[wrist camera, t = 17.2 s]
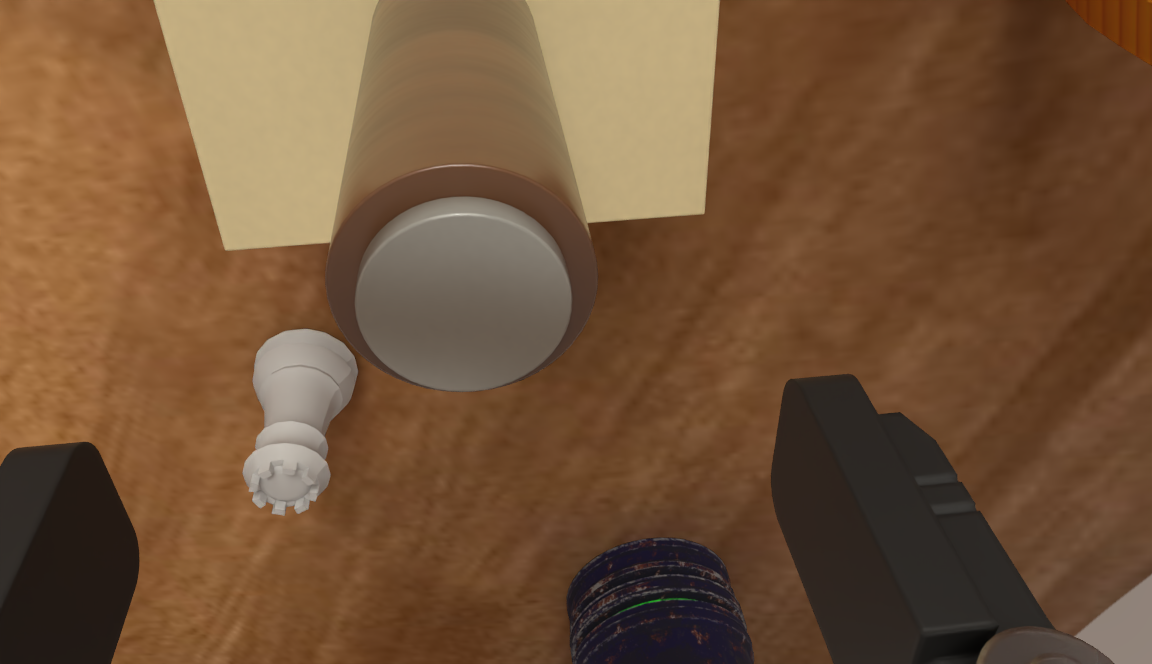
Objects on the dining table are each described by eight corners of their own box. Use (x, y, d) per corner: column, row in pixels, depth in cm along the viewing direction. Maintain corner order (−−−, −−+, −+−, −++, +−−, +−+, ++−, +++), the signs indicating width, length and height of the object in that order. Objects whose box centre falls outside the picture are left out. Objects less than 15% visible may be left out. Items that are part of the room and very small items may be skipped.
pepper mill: (358, -39, 23) (294, 194, 13) (532, -48, 23) (603, 172, 13) (383, 125, 26) (347, 427, 16) (540, 114, 26) (604, 402, 16)
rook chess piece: (335, 310, 40) (315, 436, 33) (373, 386, 42) (362, 515, 36) (238, 337, 40) (199, 467, 34) (282, 411, 43) (254, 544, 36)
